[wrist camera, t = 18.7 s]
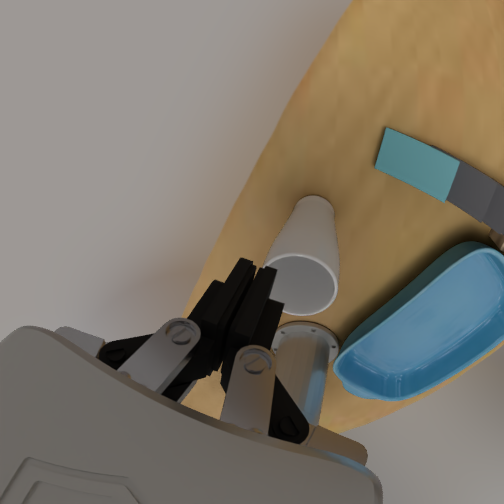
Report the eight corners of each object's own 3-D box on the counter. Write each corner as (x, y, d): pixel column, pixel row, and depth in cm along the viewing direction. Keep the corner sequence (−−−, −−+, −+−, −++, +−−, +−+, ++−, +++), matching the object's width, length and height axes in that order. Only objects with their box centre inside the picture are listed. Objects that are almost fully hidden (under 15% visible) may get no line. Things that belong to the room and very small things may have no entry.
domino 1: (434, 145, 24) (497, 182, 19) (421, 182, 27) (481, 220, 22) (431, 145, 23) (497, 183, 18) (418, 183, 26) (481, 222, 21)
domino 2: (458, 158, 24) (516, 196, 18) (445, 194, 27) (500, 232, 21) (456, 157, 23) (517, 197, 17) (443, 194, 26) (500, 234, 20)
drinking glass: (329, 180, 31) (322, 242, 19) (347, 228, 34) (348, 309, 22) (279, 198, 34) (243, 264, 22) (300, 242, 37) (277, 322, 25)
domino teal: (388, 127, 25) (458, 160, 21) (377, 166, 28) (444, 199, 24) (386, 127, 24) (459, 162, 20) (374, 168, 27) (444, 203, 23)
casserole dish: (475, 194, 25) (499, 217, 20) (527, 280, 27) (543, 307, 21) (313, 341, 47) (307, 373, 41) (387, 383, 49) (387, 411, 43)
